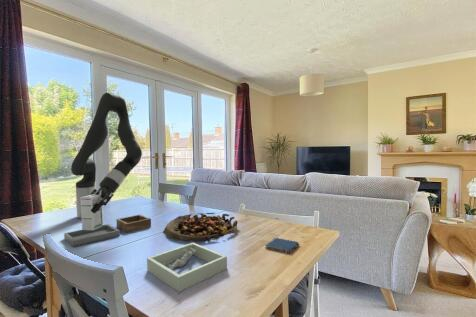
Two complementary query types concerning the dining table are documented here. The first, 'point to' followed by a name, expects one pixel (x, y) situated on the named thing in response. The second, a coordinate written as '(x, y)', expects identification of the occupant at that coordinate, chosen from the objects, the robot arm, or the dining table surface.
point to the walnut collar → (133, 223)
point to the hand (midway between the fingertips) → (88, 211)
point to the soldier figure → (182, 259)
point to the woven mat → (282, 245)
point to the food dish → (199, 227)
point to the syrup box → (90, 213)
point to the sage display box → (190, 277)
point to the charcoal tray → (91, 235)
